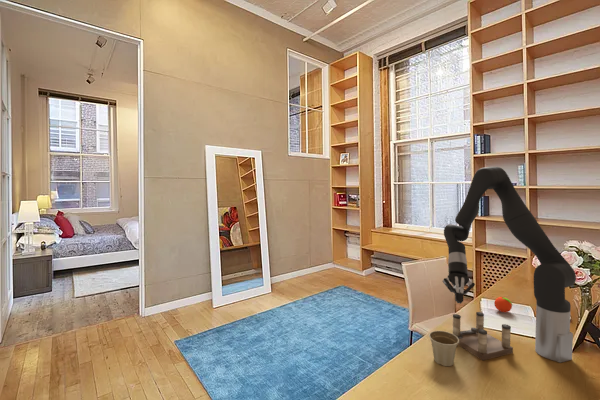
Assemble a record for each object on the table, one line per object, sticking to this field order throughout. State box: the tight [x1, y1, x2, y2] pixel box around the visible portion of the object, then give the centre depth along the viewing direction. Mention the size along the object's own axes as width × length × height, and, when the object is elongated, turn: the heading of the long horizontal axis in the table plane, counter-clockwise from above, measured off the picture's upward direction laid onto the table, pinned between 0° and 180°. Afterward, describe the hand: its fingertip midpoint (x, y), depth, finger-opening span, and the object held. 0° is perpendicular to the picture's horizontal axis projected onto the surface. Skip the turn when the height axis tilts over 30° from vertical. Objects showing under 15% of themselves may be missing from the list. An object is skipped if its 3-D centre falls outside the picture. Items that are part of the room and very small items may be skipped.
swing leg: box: [452, 313, 477, 336], centre depth 118 cm, size 10×3×8 cm, turn 102°
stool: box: [457, 311, 514, 361], centre depth 113 cm, size 14×14×10 cm
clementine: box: [493, 296, 513, 313], centre depth 141 cm, size 8×7×7 cm
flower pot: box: [428, 330, 459, 367], centre depth 104 cm, size 9×9×9 cm
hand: (459, 302), depth 125 cm, fingers closed
